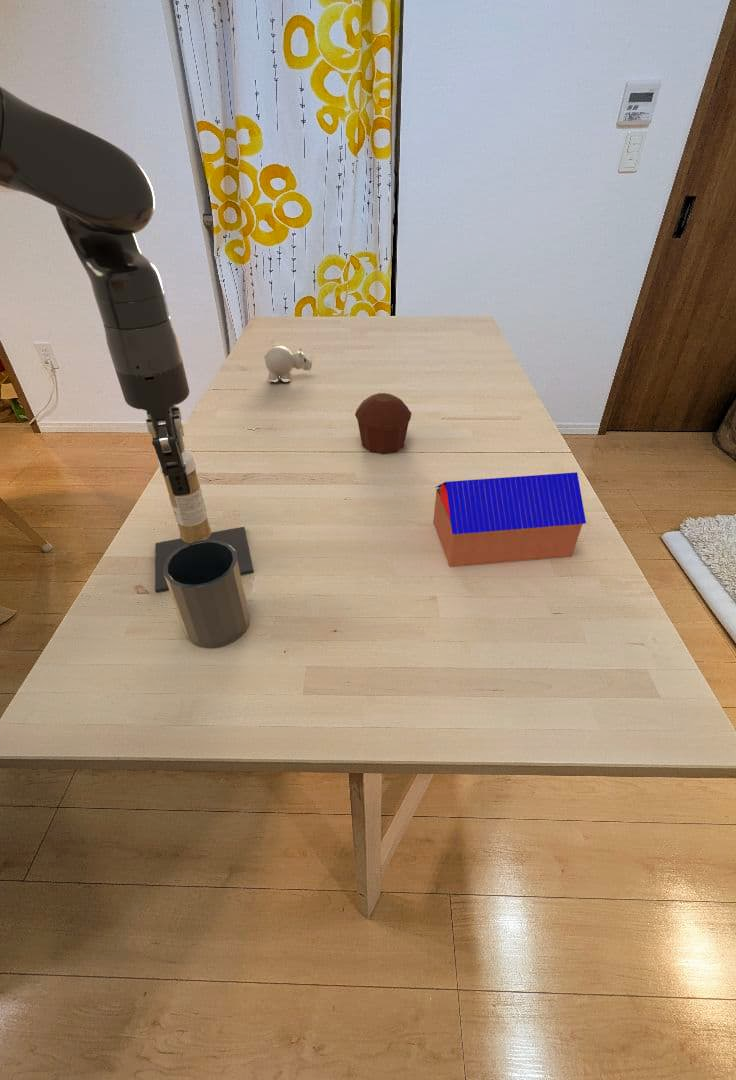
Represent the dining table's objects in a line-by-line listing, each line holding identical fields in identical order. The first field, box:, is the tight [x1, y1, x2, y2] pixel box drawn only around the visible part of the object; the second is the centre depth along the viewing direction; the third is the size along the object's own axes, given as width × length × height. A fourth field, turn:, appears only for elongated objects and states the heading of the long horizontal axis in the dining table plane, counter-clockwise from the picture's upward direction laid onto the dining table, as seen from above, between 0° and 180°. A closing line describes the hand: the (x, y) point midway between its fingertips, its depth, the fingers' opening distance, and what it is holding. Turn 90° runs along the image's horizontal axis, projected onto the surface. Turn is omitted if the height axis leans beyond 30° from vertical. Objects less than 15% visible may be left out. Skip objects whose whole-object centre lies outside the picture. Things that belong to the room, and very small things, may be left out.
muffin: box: [354, 392, 412, 455], centre depth 105 cm, size 12×11×10 cm
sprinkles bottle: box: [157, 449, 212, 543], centre depth 73 cm, size 5×5×14 cm
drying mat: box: [154, 526, 254, 593], centre depth 80 cm, size 14×11×1 cm
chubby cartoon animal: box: [264, 345, 314, 380], centre depth 131 cm, size 7×12×8 cm, turn 97°
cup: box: [164, 540, 251, 649], centre depth 66 cm, size 9×9×11 cm
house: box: [432, 471, 587, 568], centre depth 80 cm, size 12×20×12 cm, turn 97°
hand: (181, 482), depth 71 cm, fingers closed on sprinkles bottle, 4 cm apart
